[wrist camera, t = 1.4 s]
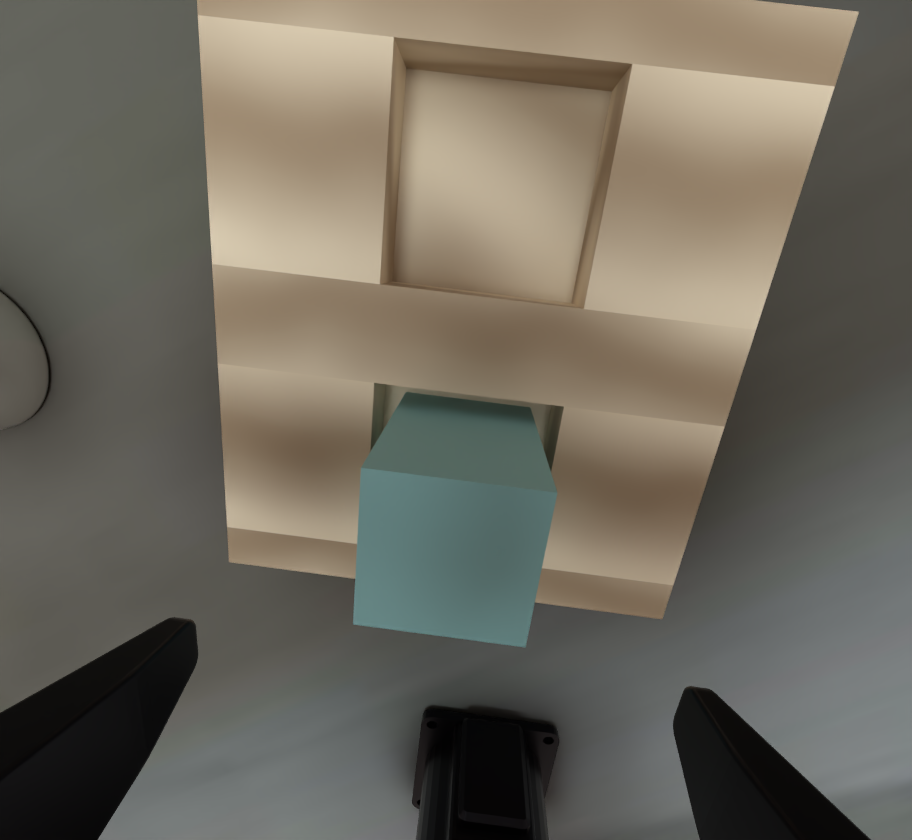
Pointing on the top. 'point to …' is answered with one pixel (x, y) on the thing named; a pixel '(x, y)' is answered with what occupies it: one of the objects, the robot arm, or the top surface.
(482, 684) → the top surface
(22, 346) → the beer glass
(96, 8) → the top surface
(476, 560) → the teal block
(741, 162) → the pocket board
